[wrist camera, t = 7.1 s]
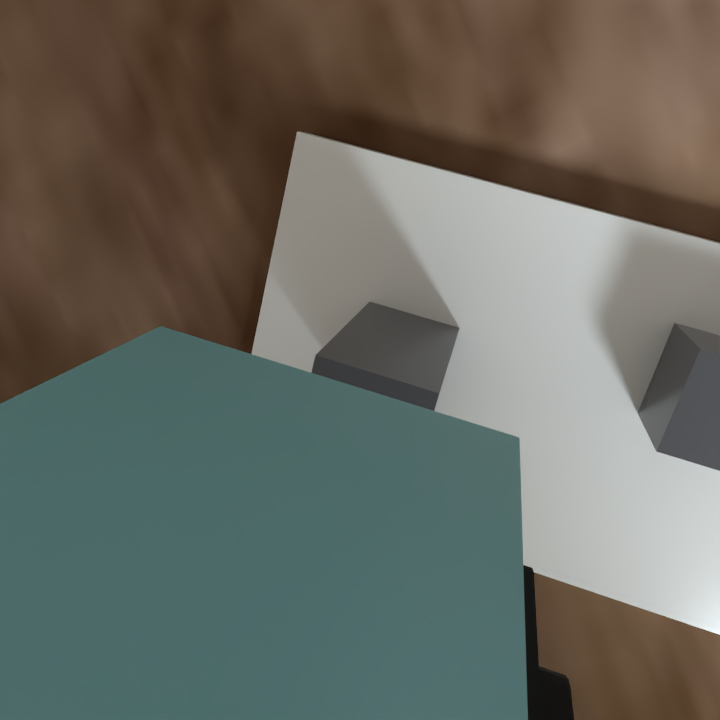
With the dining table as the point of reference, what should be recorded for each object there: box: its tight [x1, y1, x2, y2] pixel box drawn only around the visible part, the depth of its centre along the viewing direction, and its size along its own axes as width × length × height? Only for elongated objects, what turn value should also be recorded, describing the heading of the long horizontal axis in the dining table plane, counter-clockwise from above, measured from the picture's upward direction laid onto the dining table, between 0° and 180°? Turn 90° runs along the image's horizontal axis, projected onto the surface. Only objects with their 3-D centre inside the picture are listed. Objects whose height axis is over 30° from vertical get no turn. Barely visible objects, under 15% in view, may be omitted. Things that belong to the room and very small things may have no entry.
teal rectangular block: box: [0, 326, 528, 720], centre depth 8 cm, size 6×6×8 cm
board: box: [252, 131, 720, 635], centre depth 21 cm, size 18×12×4 cm, turn 76°
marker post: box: [311, 302, 460, 411], centre depth 19 cm, size 3×3×6 cm
